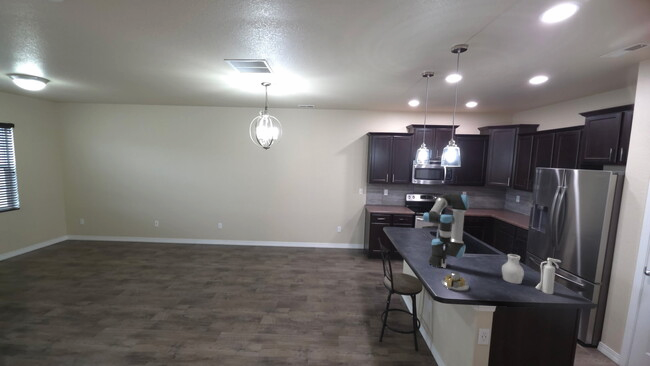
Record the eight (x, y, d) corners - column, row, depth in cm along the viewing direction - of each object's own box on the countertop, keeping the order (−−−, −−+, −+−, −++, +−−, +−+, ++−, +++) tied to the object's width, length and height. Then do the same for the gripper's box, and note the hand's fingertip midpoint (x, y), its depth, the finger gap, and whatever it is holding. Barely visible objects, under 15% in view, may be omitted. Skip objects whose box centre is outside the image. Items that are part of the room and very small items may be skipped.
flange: (437, 284, 190) (438, 272, 190) (447, 277, 202) (448, 266, 202) (462, 294, 177) (463, 281, 176) (472, 286, 189) (473, 274, 188)
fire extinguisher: (533, 287, 190) (537, 255, 187) (554, 291, 184) (559, 258, 182) (536, 291, 183) (540, 258, 181) (557, 296, 178) (563, 261, 176)
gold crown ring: (457, 289, 178) (458, 282, 178) (440, 283, 187) (440, 276, 187) (467, 283, 189) (467, 276, 188) (450, 277, 198) (450, 271, 198)
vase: (496, 277, 205) (498, 253, 204) (508, 275, 211) (509, 251, 209) (516, 285, 192) (518, 259, 190) (527, 282, 198) (529, 257, 196)
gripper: (440, 233, 193) (438, 263, 195) (438, 237, 182) (437, 269, 184) (451, 234, 190) (449, 265, 192) (450, 239, 178) (448, 271, 180)
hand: (443, 267), depth 188 cm, fingers closed
